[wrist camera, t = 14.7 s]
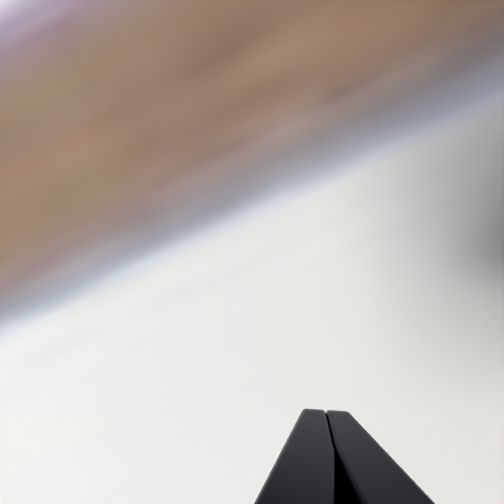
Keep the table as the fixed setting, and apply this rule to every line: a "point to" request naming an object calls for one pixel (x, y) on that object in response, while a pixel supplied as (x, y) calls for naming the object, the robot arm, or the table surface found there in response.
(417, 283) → the table surface
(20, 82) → the table surface
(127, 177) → the table surface
